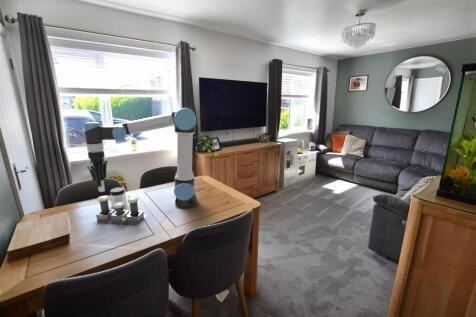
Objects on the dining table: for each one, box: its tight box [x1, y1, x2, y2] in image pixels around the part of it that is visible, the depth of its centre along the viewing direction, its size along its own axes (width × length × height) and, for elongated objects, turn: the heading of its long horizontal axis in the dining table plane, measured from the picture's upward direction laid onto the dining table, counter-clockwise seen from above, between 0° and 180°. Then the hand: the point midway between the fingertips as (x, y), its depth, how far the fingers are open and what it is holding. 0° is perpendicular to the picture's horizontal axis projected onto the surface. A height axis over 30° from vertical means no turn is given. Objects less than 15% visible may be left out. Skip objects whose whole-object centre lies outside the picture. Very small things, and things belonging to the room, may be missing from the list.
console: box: [93, 208, 148, 227], centre depth 130 cm, size 26×12×5 cm, turn 85°
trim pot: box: [120, 213, 127, 224], centre depth 125 cm, size 3×3×5 cm
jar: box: [109, 187, 128, 208], centre depth 146 cm, size 9×8×12 cm
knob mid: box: [113, 202, 126, 215], centre depth 129 cm, size 6×6×9 cm
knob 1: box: [97, 195, 110, 214], centre depth 129 cm, size 6×6×9 cm
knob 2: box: [127, 196, 139, 215], centre depth 127 cm, size 6×6×9 cm
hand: (101, 191), depth 126 cm, fingers closed
